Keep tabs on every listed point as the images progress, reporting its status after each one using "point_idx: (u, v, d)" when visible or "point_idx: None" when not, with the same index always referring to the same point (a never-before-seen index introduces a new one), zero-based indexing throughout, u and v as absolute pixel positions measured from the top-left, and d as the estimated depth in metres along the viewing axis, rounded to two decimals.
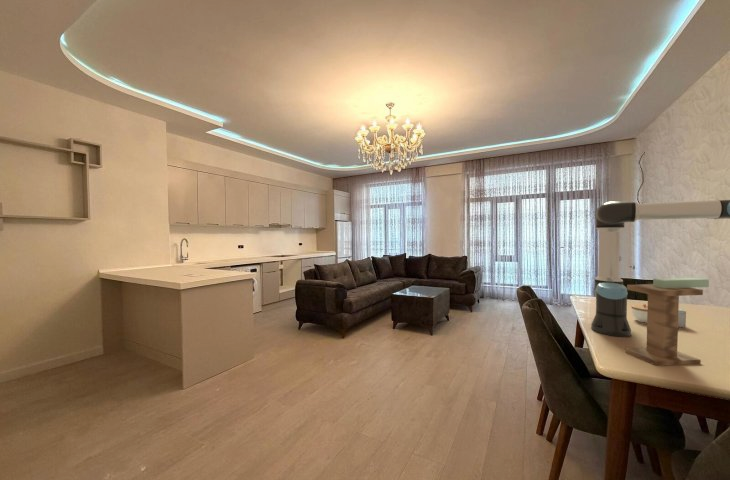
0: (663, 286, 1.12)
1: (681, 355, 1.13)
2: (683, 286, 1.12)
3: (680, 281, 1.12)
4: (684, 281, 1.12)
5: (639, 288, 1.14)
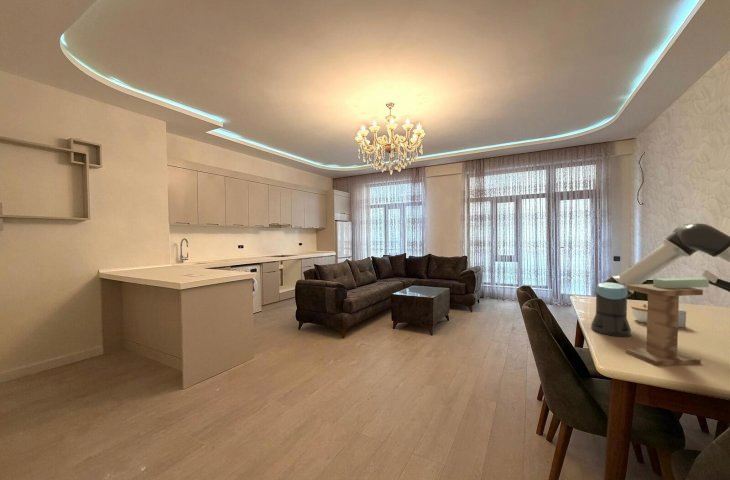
0: (663, 286, 1.12)
1: (681, 355, 1.13)
2: (683, 286, 1.12)
3: (680, 281, 1.12)
4: (684, 281, 1.12)
5: (639, 288, 1.14)
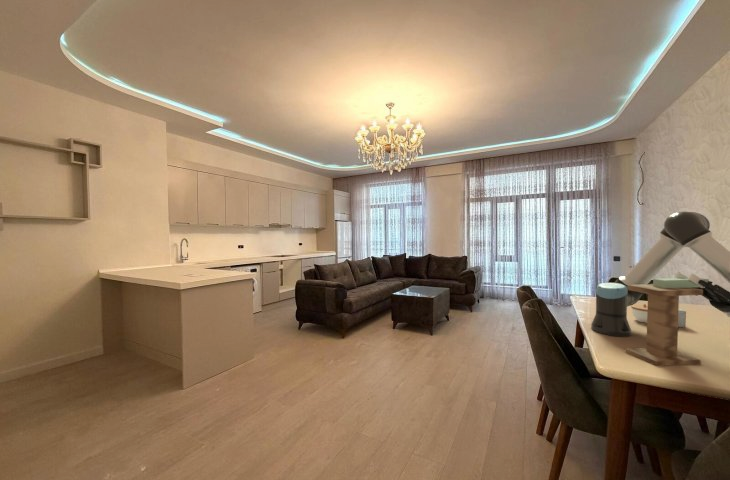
0: (663, 286, 1.12)
1: (681, 355, 1.13)
2: (683, 286, 1.12)
3: (680, 281, 1.12)
4: (684, 281, 1.12)
5: (639, 288, 1.14)
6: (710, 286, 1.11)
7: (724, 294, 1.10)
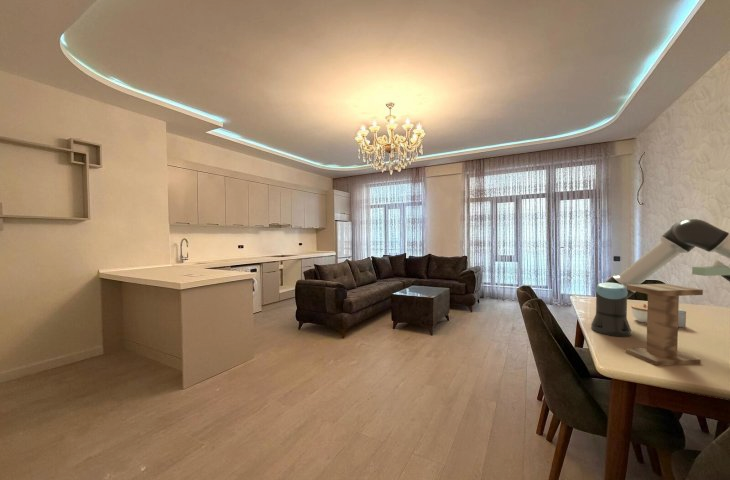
0: (703, 274, 1.13)
1: (681, 355, 1.13)
2: (723, 274, 1.13)
3: (720, 269, 1.13)
4: (724, 269, 1.13)
5: (639, 288, 1.14)
6: None
7: None
